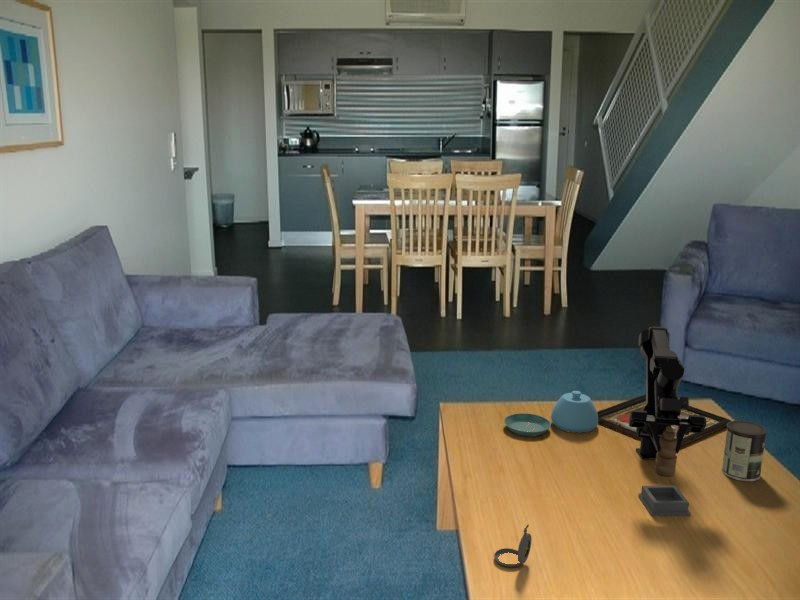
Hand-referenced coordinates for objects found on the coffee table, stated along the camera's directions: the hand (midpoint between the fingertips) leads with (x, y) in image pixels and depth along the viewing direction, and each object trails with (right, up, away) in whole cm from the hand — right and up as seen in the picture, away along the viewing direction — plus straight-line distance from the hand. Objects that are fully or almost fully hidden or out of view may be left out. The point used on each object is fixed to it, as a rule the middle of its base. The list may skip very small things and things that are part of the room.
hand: (667, 452), depth 200 cm
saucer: (-29, -2, +48) cm, 56 cm away
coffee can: (+28, -10, +20) cm, 35 cm away
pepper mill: (0, -6, +3) cm, 7 cm away
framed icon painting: (+16, -2, +55) cm, 57 cm away
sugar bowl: (-13, -2, +51) cm, 53 cm away
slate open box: (-1, -14, +1) cm, 14 cm away
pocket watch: (-44, -20, -25) cm, 54 cm away
